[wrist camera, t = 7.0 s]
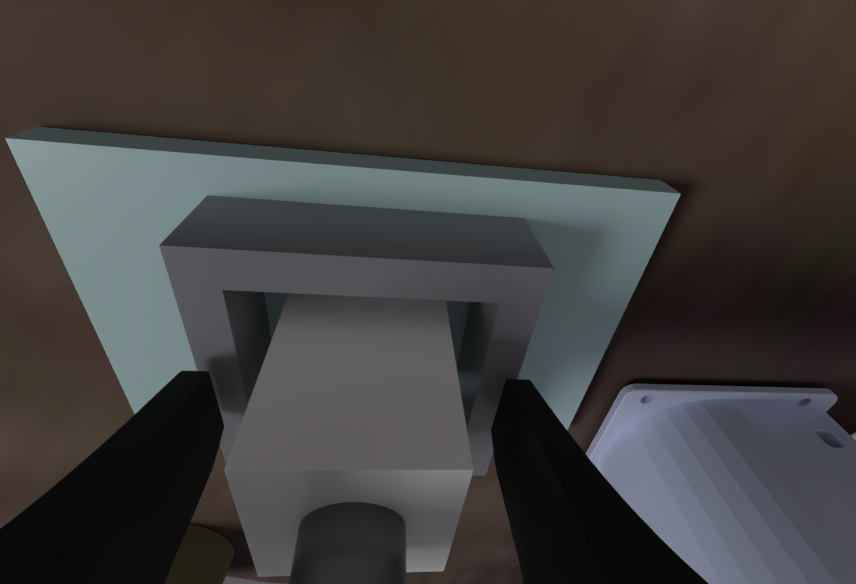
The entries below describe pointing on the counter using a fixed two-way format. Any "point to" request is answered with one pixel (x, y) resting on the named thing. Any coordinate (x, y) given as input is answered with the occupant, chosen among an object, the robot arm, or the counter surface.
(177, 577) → the cork
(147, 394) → the socket
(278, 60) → the counter surface
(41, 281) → the counter surface
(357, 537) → the plug
